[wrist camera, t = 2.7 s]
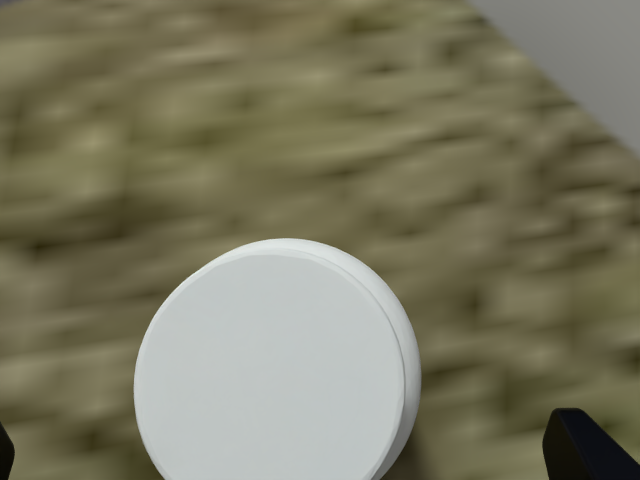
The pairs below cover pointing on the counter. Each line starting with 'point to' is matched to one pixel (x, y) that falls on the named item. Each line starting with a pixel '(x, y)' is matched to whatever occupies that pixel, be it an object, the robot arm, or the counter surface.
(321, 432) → the supplement bottle
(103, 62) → the counter surface
